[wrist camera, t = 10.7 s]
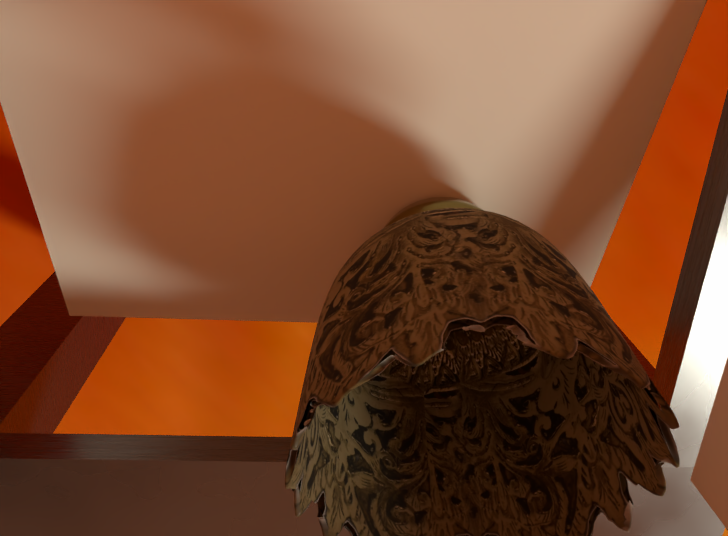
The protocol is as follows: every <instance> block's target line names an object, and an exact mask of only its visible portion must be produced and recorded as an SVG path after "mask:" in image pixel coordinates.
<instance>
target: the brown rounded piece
mask: <svg viewBox="0 0 728 536" xmlns="http://www.w3.org/2000/svg"><path fill="white" fill-rule="evenodd" d="M657 402H658V403H657ZM658 404H659V405H660V407H661V409H660V408H659V406H658ZM670 428H671V429H676V428H679V423H678V421H677V418H676V416H675V414H674V412H673V410H672V409H671V407H670V406H669V405H668V404H667V402H666V401H665V400H664V398H663V397H662V396H661V394H660V393H659V391H658V390H657V388H656V387H655V385H654V384H653V382H652V381H651V379H650V378H649V376H648V375H647V373H646V371H645V370H644V368H643V367H642V365H641V364H640V362H639V361H638V359H637V358H636V356H635V354H634V353H633V351H632V350H631V348H630V347H629V345H628V344H627V342H626V341H625V339H624V337H623V336H622V334H621V333H620V331H619V330H618V328H617V327H616V325H615V324H614V322H613V321H612V319H611V318H610V316H609V315H608V313H607V312H606V310H605V309H604V307H603V306H602V304H601V303H600V301H599V300H598V298H597V297H596V295H595V294H594V292H593V291H592V290H591V288H590V287H589V286H588V284H587V283H586V281H585V280H584V279H583V277H582V276H581V275H580V274H579V272H578V271H577V270H576V269H575V267H574V266H573V265H572V264H571V263H570V261H569V260H568V259H567V258H566V257H565V256H564V255H563V254H562V253H561V252H560V251H559V250H558V249H557V248H556V247H555V246H554V245H553V244H552V243H551V242H550V241H549V240H547V239H546V238H545V237H543V236H542V235H541V234H539V233H538V232H536V231H535V230H533V229H531V228H530V227H528V226H526V225H524V224H522V223H521V222H519V221H517V220H514V219H512V218H510V217H507V216H504V215H501V214H497V213H494V212H489V211H484V210H483V209H481V208H480V207H478V206H476V205H474V204H473V203H470V202H468V201H465V200H462V199H458V198H453V197H432V198H427V199H423V200H420V201H417V202H414V203H412V204H410V205H408V206H406V207H404V208H403V209H401V210H400V211H399V212H397V213H396V214H395V215H394V216H393V217H392V218H391V219H390V220H389V221H388V223H387V224H386V225H385V226H384V228H383V229H382V230H380V231H379V232H377V233H376V234H374V235H373V236H371V237H370V238H369V239H368V240H366V241H365V242H364V243H363V244H362V245H361V246H360V247H359V248H358V249H357V250H356V251H355V252H354V253H353V254H352V255H351V257H350V258H349V259H348V260H347V262H346V263H345V264H344V266H343V267H342V268H341V269H340V271H339V273H338V275H337V276H336V278H335V280H334V282H333V284H332V286H331V288H330V290H329V292H328V295H327V297H326V300H325V302H324V305H323V308H322V311H321V314H320V317H319V320H318V324H317V328H316V332H315V335H314V339H313V343H312V348H311V352H310V356H309V361H308V365H307V370H306V374H305V379H304V384H303V388H302V393H301V398H300V402H299V407H298V412H297V417H296V422H295V427H294V432H293V436H292V440H291V444H290V450H289V455H288V460H287V465H286V473H285V488H286V489H289V488H291V490H292V491H293V492H294V509H295V516H296V517H299V516H301V515H302V514H303V513H304V512H305V511H306V509H307V508H308V507H309V505H310V503H311V501H313V502H314V503H316V502H317V505H318V514H317V518H318V520H319V523H320V526H321V530H322V534H323V536H338V535H339V534H340V532H341V530H342V528H343V527H344V528H345V529H346V530H347V531H348V532H349V534H350V535H351V536H592V534H593V529H594V522H595V520H596V519H597V517H598V515H600V513H603V514H604V515H605V516H606V518H607V519H608V520H609V521H611V522H613V523H614V524H615V525H616V526H617V527H618V528H620V529H622V530H624V531H626V532H629V531H630V529H631V523H632V510H633V501H632V498H631V496H630V493H629V489H628V482H627V479H628V480H629V481H630V482H631V483H632V484H634V485H635V486H637V485H638V484H639V485H640V486H641V487H643V488H644V489H646V490H647V491H649V492H651V493H652V494H654V495H657V496H663V495H664V493H665V492H666V480H665V477H664V473H663V469H662V467H661V466H662V465H663V464H664V462H666V463H670V464H672V465H673V466H674V467H676V468H678V467H679V465H680V459H679V454H678V450H677V446H676V443H675V441H674V438H673V435H672V433H671V430H670Z"/></svg>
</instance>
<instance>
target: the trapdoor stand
mask: <svg viewBox="0 0 728 536" xmlns="http://www.w3.org/2000/svg"><path fill="white" fill-rule="evenodd" d="M125 318H126V317H102V316H70V315H69V312H68V309H67V306H66V303H65V300H64V297H63V294H62V290H61V287H60V284H59V281H58V278H57V275H56V272H54V273H53V274H52V275H51V276H50V277H49V278H48V279H47V280H46V281H45V282H44V283H43V284H42V285H41V286H40V287H39V288H38V289H37V290H36V291H35V292H34V293H33V294H32V295H31V296H30V297H29V298H28V299H27V300H26V301H25V302H24V303H23V304H22V305H21V306H20V307H19V308H18V309H17V310H16V311H15V312H14V313H13V314H12V315H11V316H10V317H9V318H8V319H7V320H6V321H5V322H4V323H3V324H2V325H1V326H0V536H323V534H322V530H321V526H320V523H319V520H318V518H317V514H318V505H317V502H316V503H314V502H313V501H311V503H310V505H309V507H308V508H307V509H306V511H305V512H304V513H303V514H302V515H301V516H299V517H296V516H295V509H294V492H293V491H292V490H291V488H289V489H286V488H285V473H286V465H287V460H288V455H289V450H290V444H291V440H292V437H238V436H172V435H107V434H53V432H54V431H55V429H56V428H57V426H58V424H59V423H60V421H61V420H62V418H63V416H64V415H65V413H66V412H67V410H68V408H69V407H70V405H71V404H72V402H73V401H74V399H75V397H76V396H77V394H78V393H79V391H80V389H81V388H82V386H83V385H84V383H85V381H86V380H87V378H88V377H89V375H90V374H91V372H92V370H93V369H94V367H95V366H96V364H97V362H98V361H99V359H100V358H101V356H102V354H103V353H104V351H105V350H106V348H107V346H108V345H109V343H110V342H111V340H112V339H113V337H114V335H115V334H116V332H117V331H118V329H119V327H120V326H121V324H122V323H123V321H124V319H125ZM612 321H613V320H612ZM613 322H614V321H613ZM614 324H615V323H614ZM615 325H616V324H615ZM616 327H617V328H618V330H619V331H620V333H621V334H622V336H623V337H624V339H625V341H626V342H627V344H628V345H629V347H630V348H631V350H632V351H633V353H634V354H635V356H636V358H637V359H638V361H639V362H640V364H641V365H642V367H643V368H644V370H645V371H646V373H647V375H648V376H649V378H650V379H651V381H652V382H653V384H654V385H655V387H656V388H657V390H658V391H659V393H660V394H661V396H662V397H663V398H664V400H665V401H666V402H667V404H668V405H669V406H670V407H671V409H672V410H673V412H674V414H675V416H676V418H677V421H678V423H679V428H676V429H671V428H670V430H671V433H672V435H673V438H674V441H675V443H676V446H677V450H678V454H679V459H680V465H679V467H678V468H676V467H674V466H673V465H672V464H670V463H666V462H664V464H663V465H662V466H661V467H662V469H663V473H664V477H665V480H666V492H665V493H664V495H663V496H657V495H654V494H652V493H651V492H649V491H647V490H646V489H644V488H643V487H641V486H640V485H639V484H638V485H637V486H635V485H634V484H632V483H631V482H630V481H629V480H628V479H627V482H628V489H629V493H630V496H631V498H632V501H633V510H632V523H631V529H630V531H629V532H626V531H624V530H622V529H620V528H618V527H617V526H616V525H615V524H614V523H613V522H611V521H609V520H608V519H607V518H606V516H605V515H604V514H603V513H600V515H598V517H597V519H596V520H595V522H594V529H593V534H592V536H722V535H723V532H724V529H725V526H724V525H723V523H722V522H721V521H720V519H719V518H718V517H717V515H716V514H715V513H714V511H713V510H712V509H711V507H710V506H709V505H708V503H707V502H706V501H705V499H704V498H703V497H702V495H701V494H700V493H699V491H698V490H697V488H696V487H695V486H694V484H693V483H692V482H691V480H690V479H691V476H692V472H693V469H694V466H695V462H696V459H697V456H698V453H699V449H700V446H701V443H702V439H703V436H704V433H705V430H706V426H707V423H708V420H709V417H710V413H711V410H712V407H713V403H714V400H715V397H716V394H717V390H718V387H719V384H720V380H721V377H722V374H723V371H724V367H725V364H726V361H727V357H728V91H727V95H726V99H725V102H724V106H723V110H722V114H721V118H720V122H719V126H718V130H717V133H716V137H715V141H714V145H713V149H712V153H711V157H710V160H709V164H708V168H707V172H706V176H705V180H704V184H703V188H702V191H701V195H700V199H699V203H698V207H697V211H696V215H695V218H694V222H693V226H692V230H691V234H690V238H689V242H688V246H687V249H686V253H685V257H684V261H683V265H682V269H681V273H680V276H679V280H678V284H677V288H676V292H675V296H674V300H673V304H672V307H671V311H670V315H669V319H668V323H667V327H666V331H665V334H664V338H663V342H662V346H661V350H660V354H659V358H658V362H657V365H656V369H655V368H654V367H653V366H652V365H651V364H650V363H649V362H648V360H647V359H646V358H645V357H644V356H643V355H642V353H641V352H640V351H639V350H638V349H637V348H636V347H635V345H634V344H633V343H632V342H631V341H630V340H629V339H628V337H627V336H626V335H625V334H624V333H623V332H622V331H621V329H620V328H619V327H618V326H617V325H616ZM657 403H658V402H657ZM658 406H659V408H660V409H661V407H660V405H659V404H658ZM338 536H351V535H350V534H349V532H348V531H347V530H346V529H345V528H344V527H343V528H342V530H341V532H340V534H339V535H338Z"/></svg>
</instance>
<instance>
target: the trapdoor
mask: <svg viewBox="0 0 728 536" xmlns="http://www.w3.org/2000/svg"><path fill="white" fill-rule="evenodd" d="M706 2H707V0H0V102H1V105H2V108H3V111H4V115H5V118H6V121H7V124H8V127H9V130H10V133H11V136H12V139H13V142H14V145H15V148H16V152H17V155H18V158H19V161H20V164H21V167H22V170H23V173H24V176H25V179H26V182H27V186H28V189H29V192H30V195H31V198H32V201H33V204H34V207H35V210H36V213H37V216H38V219H39V223H40V226H41V229H42V232H43V235H44V238H45V241H46V244H47V247H48V250H49V253H50V257H51V260H52V263H53V266H54V269H55V272H56V275H57V278H58V281H59V284H60V287H61V290H62V294H63V297H64V300H65V303H66V306H67V309H68V312H69V315H70V316H102V317H139V318H176V319H213V320H250V321H287V322H318V320H319V317H320V314H321V311H322V308H323V305H324V302H325V300H326V297H327V295H328V292H329V290H330V288H331V286H332V284H333V282H334V280H335V278H336V276H337V275H338V273H339V271H340V269H341V268H342V267H343V266H344V264H345V263H346V262H347V260H348V259H349V258H350V257H351V255H352V254H353V253H354V252H355V251H356V250H357V249H358V248H359V247H360V246H361V245H362V244H363V243H364V242H365V241H366V240H368V239H369V238H370V237H371V236H373V235H374V234H376V233H377V232H379V231H380V230H382V229H383V228H384V226H385V225H386V224H387V223H388V221H389V220H390V219H391V218H392V217H393V216H394V215H395V214H396V213H397V212H399V211H400V210H401V209H403V208H404V207H406V206H408V205H410V204H412V203H414V202H417V201H420V200H423V199H427V198H432V197H453V198H458V199H462V200H465V201H468V202H470V203H473V204H474V205H476V206H478V207H480V208H481V209H483V210H484V211H489V212H494V213H497V214H501V215H504V216H507V217H510V218H512V219H514V220H517V221H519V222H521V223H522V224H524V225H526V226H528V227H530V228H531V229H533V230H535V231H536V232H538V233H539V234H541V235H542V236H543V237H545V238H546V239H547V240H549V241H550V242H551V243H552V244H553V245H554V246H555V247H556V248H557V249H558V250H559V251H560V252H561V253H562V254H563V255H564V256H565V257H566V258H567V259H568V260H569V261H570V263H571V264H572V265H573V266H574V267H575V269H576V270H577V271H578V272H579V274H580V275H581V276H582V277H583V279H584V280H585V281H586V283H587V284H588V286H589V287H590V286H591V284H592V281H593V279H594V276H595V274H596V272H597V269H598V267H599V264H600V262H601V259H602V257H603V254H604V252H605V249H606V247H607V245H608V242H609V240H610V237H611V235H612V232H613V230H614V227H615V225H616V222H617V220H618V218H619V215H620V213H621V210H622V208H623V205H624V203H625V200H626V198H627V195H628V193H629V191H630V188H631V186H632V183H633V181H634V178H635V176H636V173H637V171H638V168H639V166H640V164H641V161H642V159H643V156H644V154H645V151H646V149H647V146H648V144H649V141H650V139H651V137H652V134H653V132H654V129H655V127H656V124H657V122H658V119H659V117H660V114H661V112H662V110H663V107H664V105H665V102H666V100H667V97H668V95H669V92H670V90H671V87H672V85H673V83H674V80H675V78H676V75H677V73H678V70H679V68H680V65H681V63H682V60H683V58H684V56H685V53H686V51H687V48H688V46H689V43H690V41H691V38H692V36H693V33H694V31H695V29H696V26H697V24H698V21H699V19H700V16H701V14H702V11H703V9H704V6H705V4H706Z"/></svg>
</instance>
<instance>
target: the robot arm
mask: <svg viewBox="0 0 728 536" xmlns="http://www.w3.org/2000/svg"><path fill="white" fill-rule="evenodd" d="M690 480H691V482H692V483H693V484H694V486H695V487H696V488H697V490H698V491H699V493H700V494H701V495H702V497H703V498H704V499H705V501H706V502H707V503H708V505H709V506H710V507H711V509H712V510H713V511H714V513H715V514H716V515H717V517H718V518H719V519H720V521H721V522H722V523H723V525H724V526H725V527H726V529H727V530H728V357H727V361H726V364H725V367H724V371H723V374H722V377H721V380H720V384H719V387H718V390H717V394H716V397H715V400H714V403H713V407H712V410H711V413H710V417H709V420H708V423H707V426H706V430H705V433H704V436H703V439H702V443H701V446H700V449H699V453H698V456H697V459H696V462H695V466H694V469H693V472H692V476H691V479H690Z"/></svg>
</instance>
